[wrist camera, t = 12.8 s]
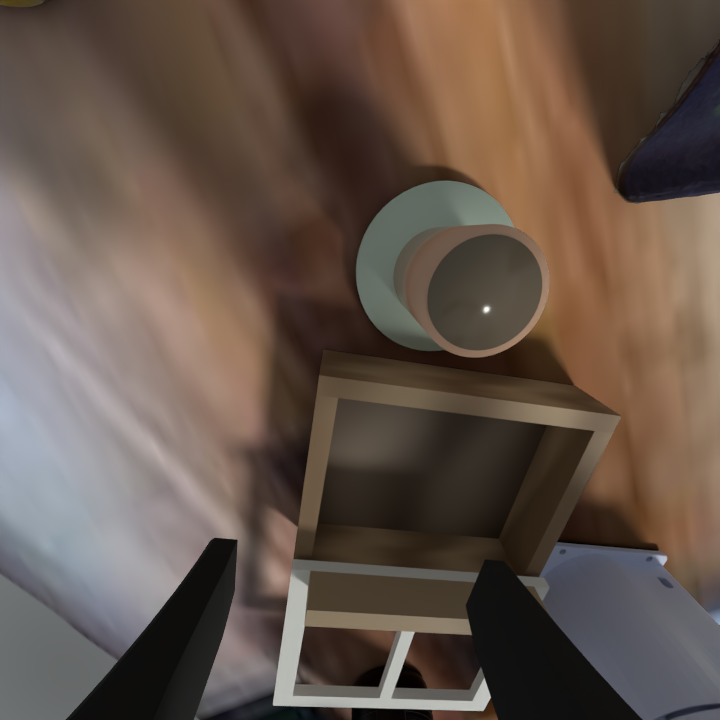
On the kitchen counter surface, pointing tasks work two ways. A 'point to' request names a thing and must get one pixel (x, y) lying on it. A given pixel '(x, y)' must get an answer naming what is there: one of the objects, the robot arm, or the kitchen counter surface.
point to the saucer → (395, 230)
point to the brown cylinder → (473, 286)
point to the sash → (379, 628)
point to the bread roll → (21, 3)
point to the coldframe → (443, 465)
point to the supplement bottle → (407, 679)
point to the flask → (680, 143)
